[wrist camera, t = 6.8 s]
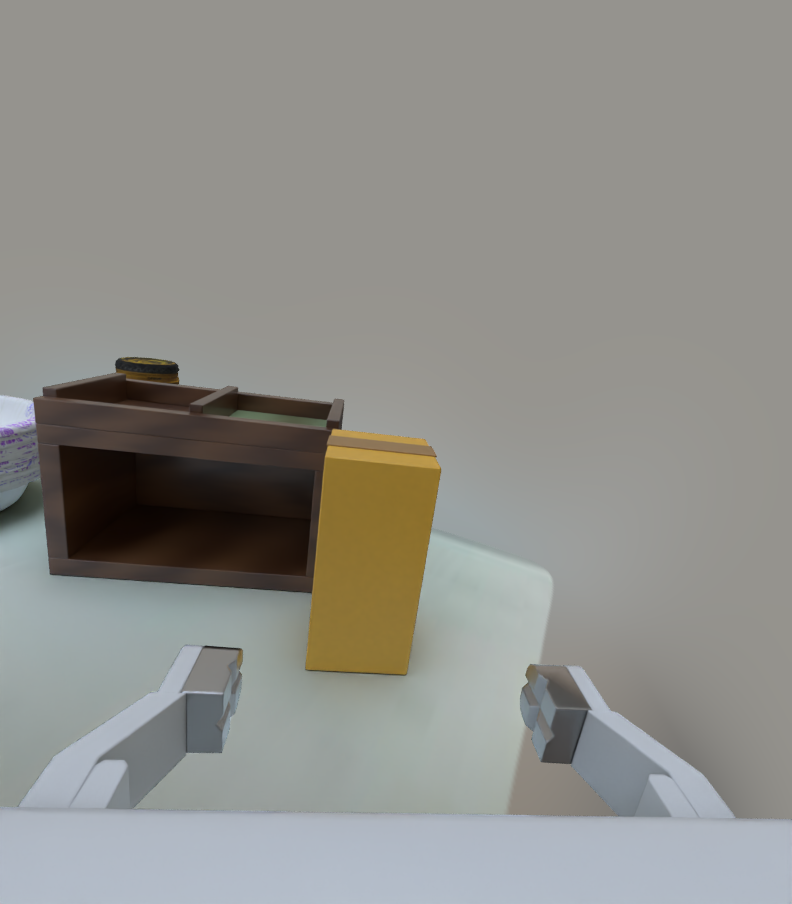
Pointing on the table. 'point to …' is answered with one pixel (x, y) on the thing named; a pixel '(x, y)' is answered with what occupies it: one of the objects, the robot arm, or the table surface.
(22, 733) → the table surface
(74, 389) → the rack
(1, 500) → the paper bowls
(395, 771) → the table surface
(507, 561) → the table surface
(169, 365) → the condiment
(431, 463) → the package
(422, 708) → the table surface
